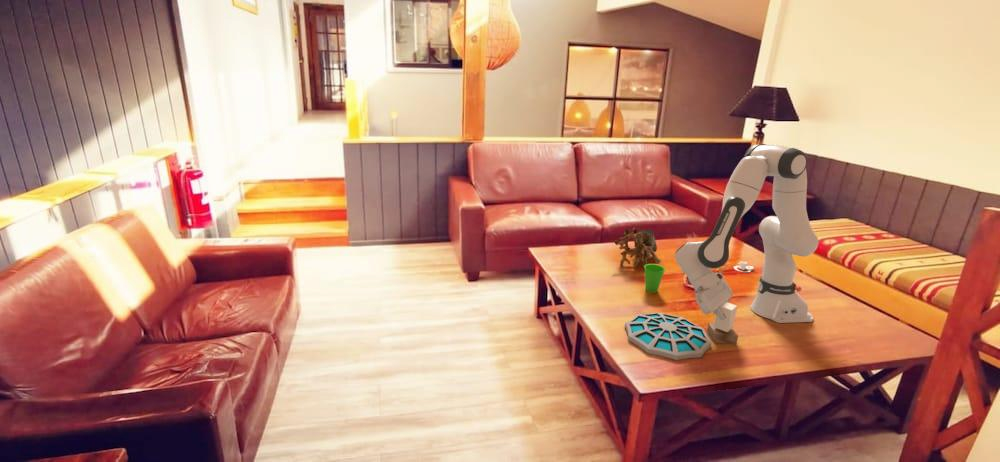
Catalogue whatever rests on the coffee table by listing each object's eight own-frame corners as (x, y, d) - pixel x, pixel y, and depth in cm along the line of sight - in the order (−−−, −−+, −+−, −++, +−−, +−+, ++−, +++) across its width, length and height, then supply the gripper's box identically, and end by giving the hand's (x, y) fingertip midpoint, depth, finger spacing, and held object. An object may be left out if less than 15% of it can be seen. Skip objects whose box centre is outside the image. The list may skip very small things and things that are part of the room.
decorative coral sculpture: (667, 240, 257) (674, 249, 229) (642, 272, 262) (646, 285, 234) (629, 214, 259) (632, 220, 232) (604, 246, 264) (604, 255, 237)
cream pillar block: (719, 322, 182) (723, 301, 179) (732, 327, 179) (737, 305, 176) (713, 327, 178) (717, 305, 176) (727, 332, 175) (731, 310, 172)
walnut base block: (728, 332, 183) (730, 324, 182) (736, 344, 176) (738, 335, 175) (706, 331, 184) (708, 323, 183) (713, 342, 176) (715, 334, 175)
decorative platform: (621, 314, 196) (622, 303, 194) (695, 320, 193) (697, 308, 191) (632, 357, 167) (633, 345, 165) (720, 365, 164) (722, 352, 162)
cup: (663, 295, 212) (666, 272, 208) (641, 293, 213) (644, 270, 210) (660, 287, 220) (664, 264, 216) (640, 284, 222) (643, 262, 218)
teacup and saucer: (753, 269, 243) (755, 262, 241) (751, 274, 236) (753, 267, 235) (734, 265, 247) (736, 258, 246) (732, 270, 241) (733, 263, 240)
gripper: (700, 288, 171) (723, 322, 167) (723, 272, 184) (745, 304, 181) (686, 295, 175) (708, 329, 172) (709, 279, 189) (730, 310, 185)
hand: (727, 316), depth 176 cm, fingers closed on cream pillar block, 5 cm apart
